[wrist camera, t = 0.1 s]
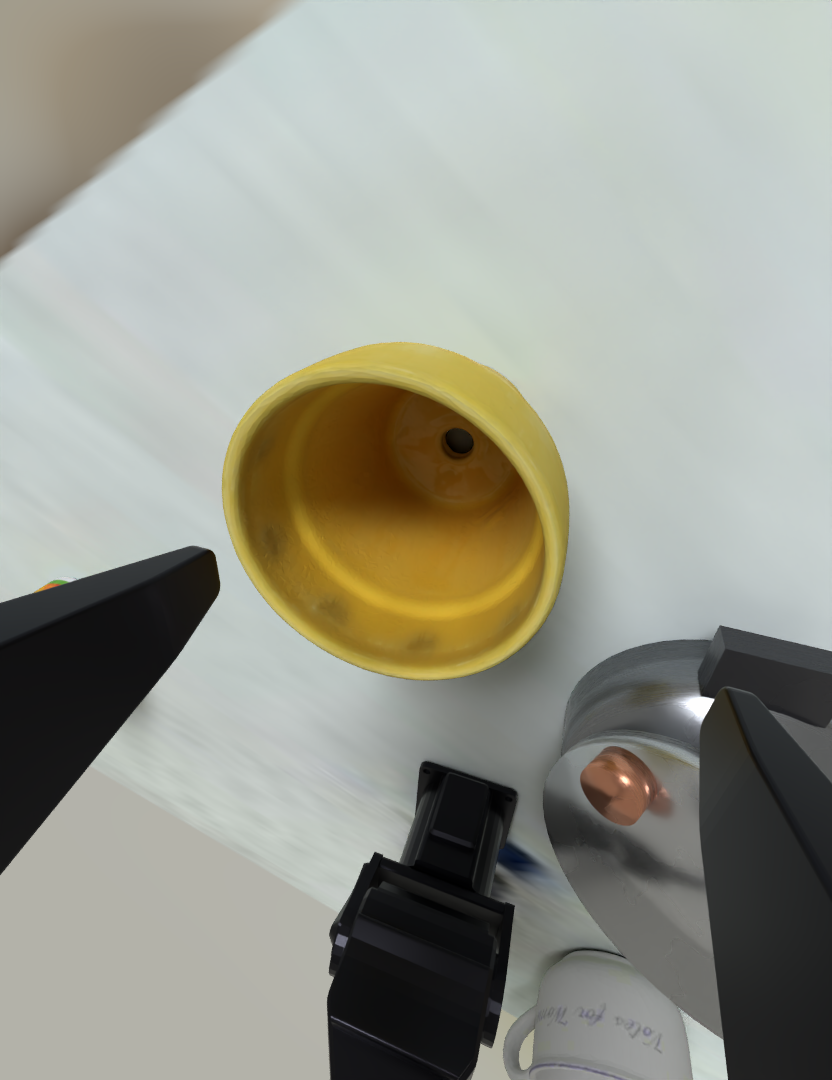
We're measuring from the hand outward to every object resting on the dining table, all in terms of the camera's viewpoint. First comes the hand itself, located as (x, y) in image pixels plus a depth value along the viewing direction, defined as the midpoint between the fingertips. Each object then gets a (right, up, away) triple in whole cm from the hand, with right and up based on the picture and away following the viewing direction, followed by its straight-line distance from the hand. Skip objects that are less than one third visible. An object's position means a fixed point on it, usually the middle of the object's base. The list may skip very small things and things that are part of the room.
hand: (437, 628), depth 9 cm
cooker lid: (+11, -12, +12) cm, 20 cm away
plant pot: (+2, +6, +14) cm, 15 cm away
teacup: (+14, -33, +33) cm, 49 cm away
